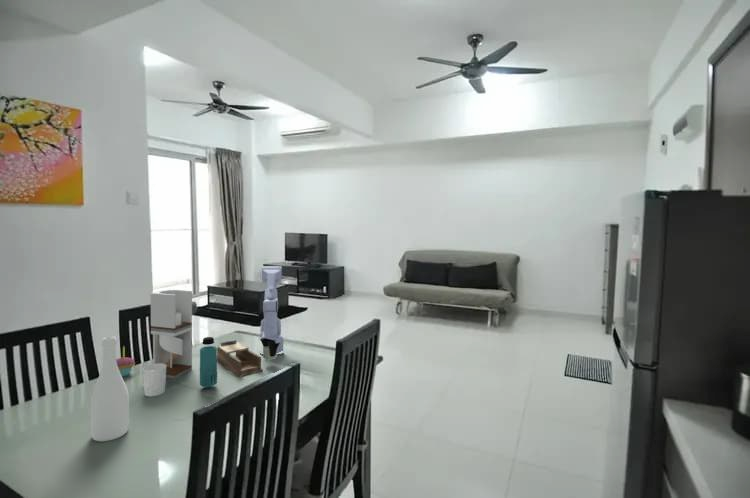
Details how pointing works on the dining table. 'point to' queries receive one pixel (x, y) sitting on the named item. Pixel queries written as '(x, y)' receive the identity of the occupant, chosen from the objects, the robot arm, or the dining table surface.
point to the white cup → (154, 379)
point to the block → (268, 353)
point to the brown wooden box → (240, 362)
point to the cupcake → (125, 364)
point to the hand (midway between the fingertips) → (270, 354)
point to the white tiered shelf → (172, 330)
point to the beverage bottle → (208, 363)
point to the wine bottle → (109, 398)
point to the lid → (232, 346)
